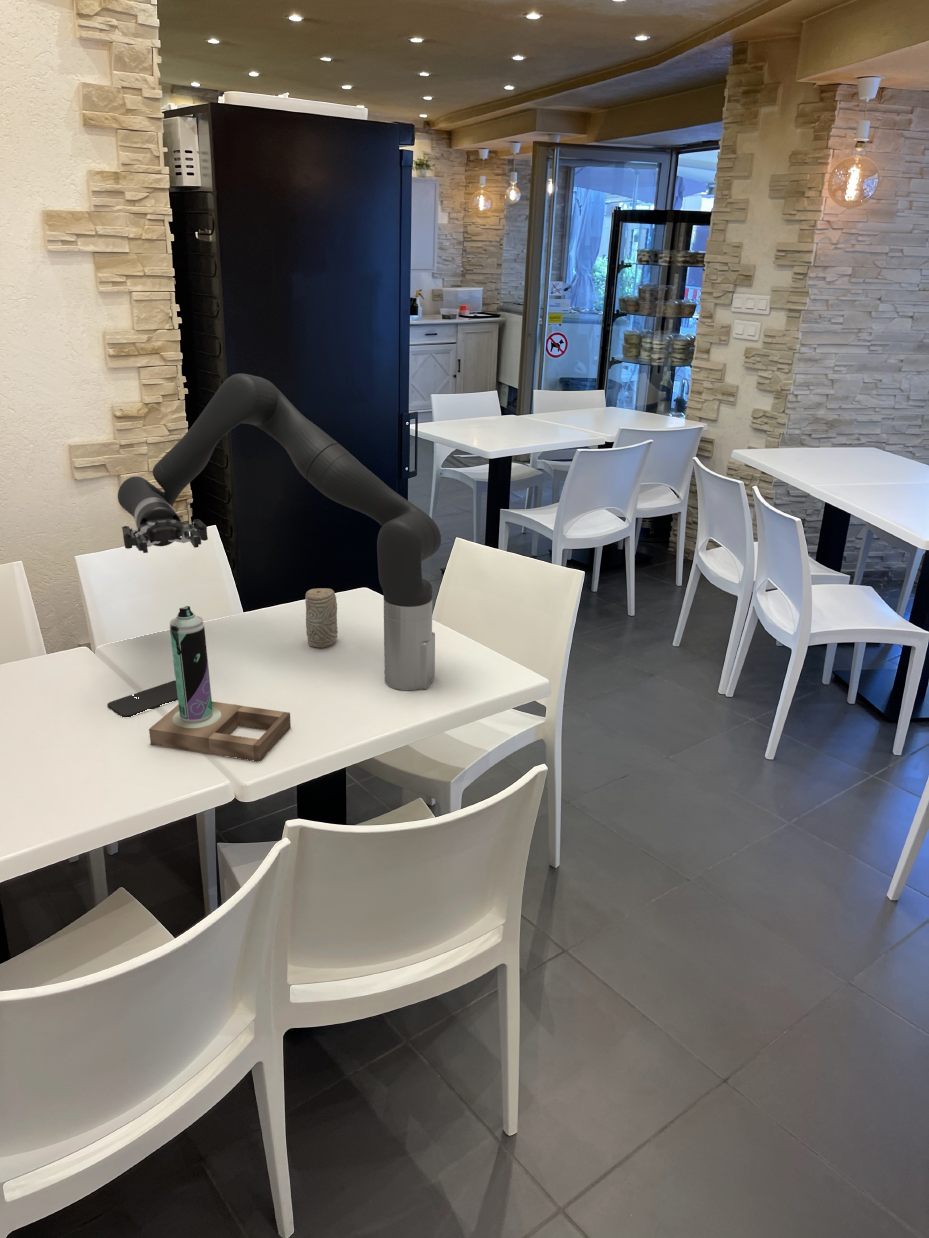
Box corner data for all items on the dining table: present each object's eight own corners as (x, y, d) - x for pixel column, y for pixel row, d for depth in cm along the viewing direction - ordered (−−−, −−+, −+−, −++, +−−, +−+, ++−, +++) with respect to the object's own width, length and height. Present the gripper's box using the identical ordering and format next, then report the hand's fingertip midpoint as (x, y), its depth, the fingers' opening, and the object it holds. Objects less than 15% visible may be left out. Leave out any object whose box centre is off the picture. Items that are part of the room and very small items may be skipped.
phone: (199, 690, 169) (124, 716, 159) (199, 694, 170) (125, 721, 159) (178, 678, 174) (104, 703, 164) (178, 682, 174) (105, 707, 164)
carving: (301, 648, 190) (298, 595, 185) (316, 635, 196) (314, 583, 192) (328, 652, 188) (326, 598, 183) (343, 639, 195) (341, 587, 190)
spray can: (205, 724, 152) (193, 614, 144) (174, 721, 152) (161, 612, 145) (218, 709, 157) (207, 602, 149) (188, 707, 157) (176, 600, 150)
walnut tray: (290, 727, 158) (289, 711, 157) (259, 762, 147) (258, 745, 146) (188, 712, 162) (186, 696, 161) (150, 744, 151) (148, 728, 150)
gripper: (114, 505, 165) (125, 528, 151) (194, 498, 171) (211, 519, 157) (119, 544, 168) (130, 570, 154) (197, 536, 173) (214, 560, 160)
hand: (171, 544), depth 156 cm, fingers open, 8 cm apart
